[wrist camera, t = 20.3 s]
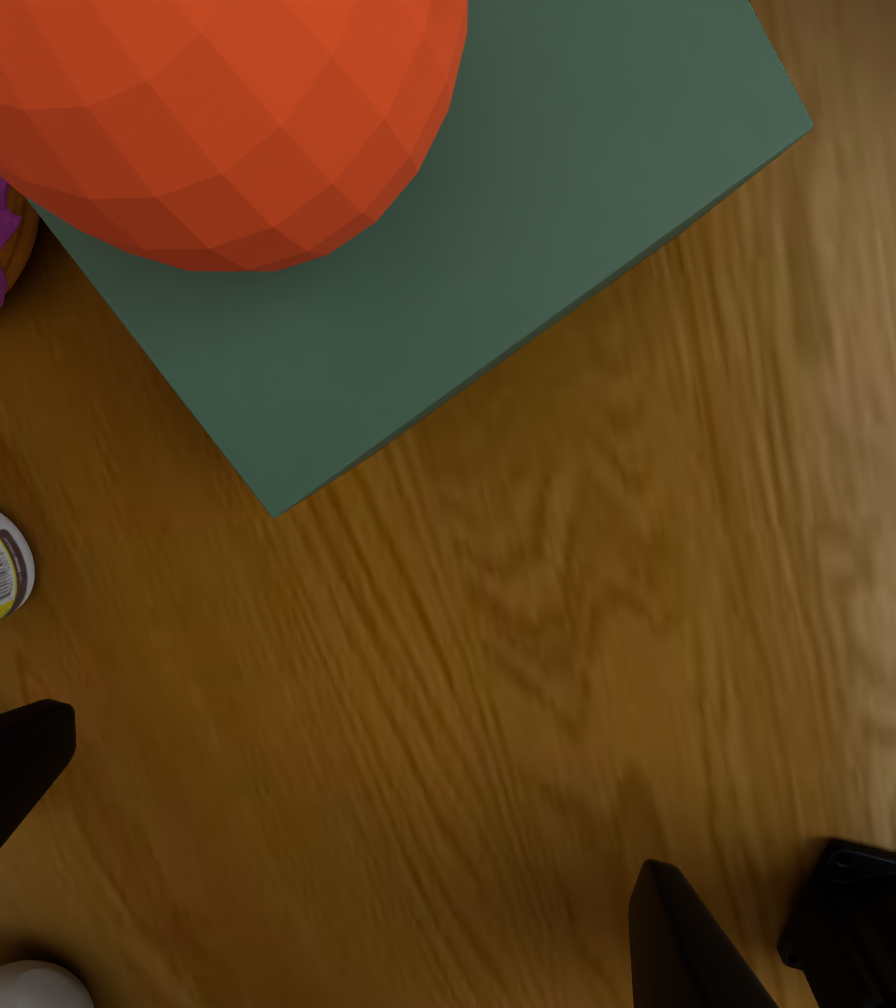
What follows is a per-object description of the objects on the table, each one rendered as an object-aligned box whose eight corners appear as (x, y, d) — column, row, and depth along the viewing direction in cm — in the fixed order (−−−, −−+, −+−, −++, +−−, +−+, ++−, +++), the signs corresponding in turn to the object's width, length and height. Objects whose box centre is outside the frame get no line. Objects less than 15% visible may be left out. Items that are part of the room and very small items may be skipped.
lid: (-38, 83, 11) (-79, 63, 11) (427, -539, 8) (416, -632, 7) (287, 510, 13) (272, 519, 12) (793, 143, 10) (816, 125, 9)
